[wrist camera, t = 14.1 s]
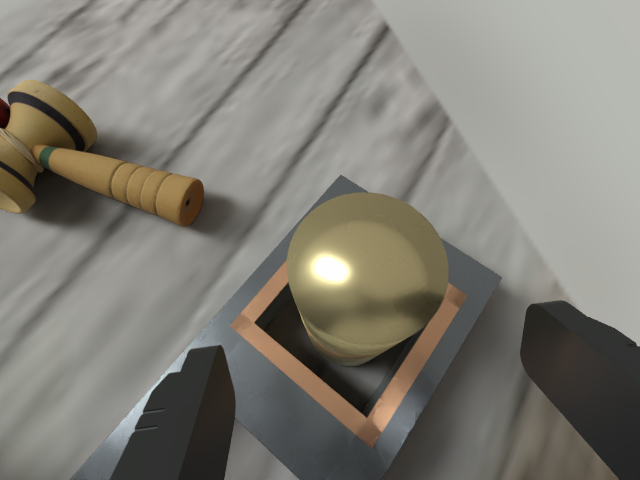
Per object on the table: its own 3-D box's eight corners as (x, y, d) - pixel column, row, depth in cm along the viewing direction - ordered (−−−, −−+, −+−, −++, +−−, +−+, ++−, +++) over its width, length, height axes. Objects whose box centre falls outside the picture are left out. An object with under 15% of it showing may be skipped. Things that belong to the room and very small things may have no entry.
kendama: (229, 166, 25) (-11, 90, 25) (206, 119, 18) (-115, 18, 18) (189, 268, 23) (-66, 188, 23) (150, 255, 17) (-200, 146, 17)
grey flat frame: (44, 537, 15) (-10, 566, 13) (339, 196, 22) (340, 172, 19) (201, 746, 13) (171, 834, 10) (481, 290, 19) (504, 276, 17)
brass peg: (289, 330, 19) (253, 276, 9) (338, 268, 20) (349, 167, 11) (357, 385, 18) (389, 384, 8) (404, 315, 19) (478, 248, 10)
